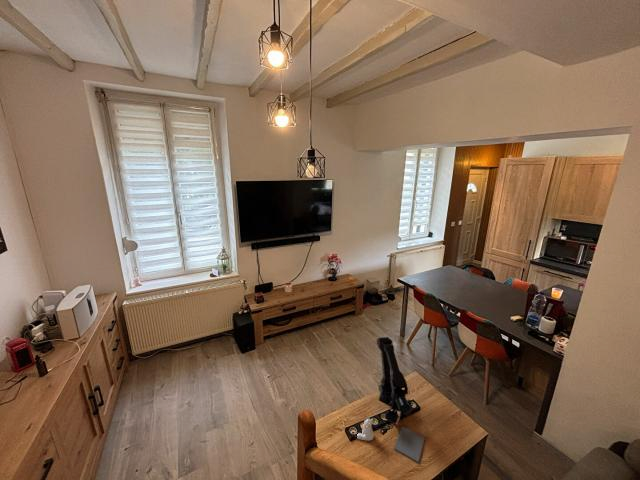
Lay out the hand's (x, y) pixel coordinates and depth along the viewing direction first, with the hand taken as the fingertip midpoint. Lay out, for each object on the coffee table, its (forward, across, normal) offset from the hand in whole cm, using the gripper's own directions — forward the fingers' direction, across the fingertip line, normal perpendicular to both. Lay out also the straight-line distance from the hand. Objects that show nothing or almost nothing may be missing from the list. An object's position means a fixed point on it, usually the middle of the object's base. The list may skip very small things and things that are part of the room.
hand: (394, 418), depth 151 cm
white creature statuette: (+2, -17, +10) cm, 20 cm away
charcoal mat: (+2, -9, -11) cm, 14 cm away
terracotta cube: (+1, 0, 0) cm, 1 cm away
